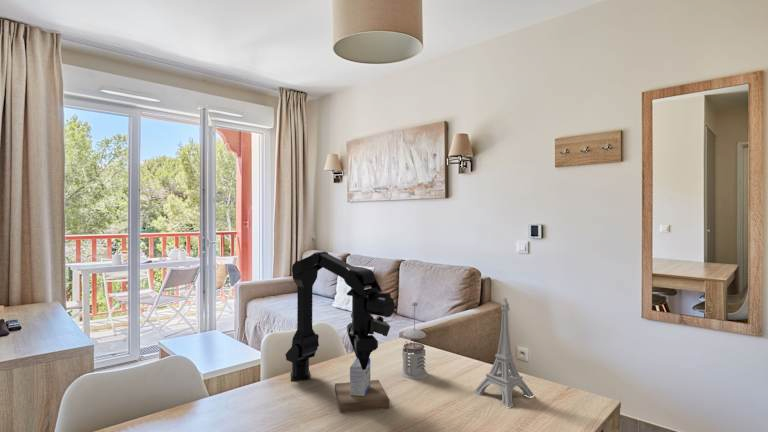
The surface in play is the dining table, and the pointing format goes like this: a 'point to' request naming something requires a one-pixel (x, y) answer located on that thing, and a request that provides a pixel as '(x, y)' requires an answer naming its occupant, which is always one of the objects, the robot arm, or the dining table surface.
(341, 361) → the dining table surface
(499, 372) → the eiffel tower
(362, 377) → the medicine box
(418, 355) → the french press
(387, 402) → the walnut block
